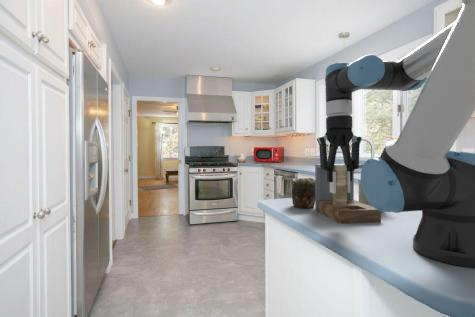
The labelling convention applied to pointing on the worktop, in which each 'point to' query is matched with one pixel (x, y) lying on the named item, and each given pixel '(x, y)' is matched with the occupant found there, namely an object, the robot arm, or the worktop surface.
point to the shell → (303, 193)
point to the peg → (340, 185)
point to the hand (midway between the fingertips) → (339, 192)
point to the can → (362, 195)
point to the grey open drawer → (327, 186)
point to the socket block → (350, 212)
